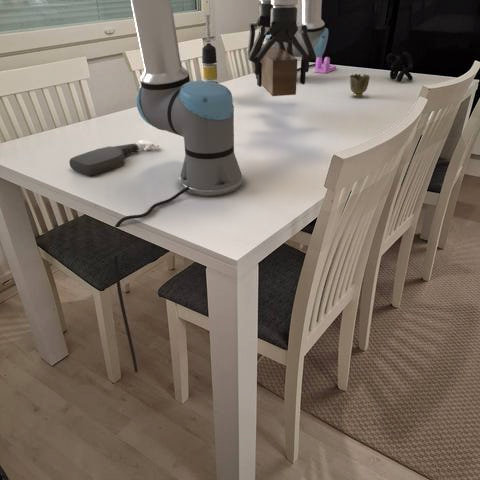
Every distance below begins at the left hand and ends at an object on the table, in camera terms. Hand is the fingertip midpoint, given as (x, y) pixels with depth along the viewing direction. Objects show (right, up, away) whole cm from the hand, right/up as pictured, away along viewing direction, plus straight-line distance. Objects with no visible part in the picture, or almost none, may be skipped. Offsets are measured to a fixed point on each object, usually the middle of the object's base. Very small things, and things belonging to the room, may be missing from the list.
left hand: (280, 84), depth 136 cm
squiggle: (+59, +24, +64) cm, 91 cm away
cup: (+34, +9, +41) cm, 54 cm away
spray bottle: (-47, -25, -11) cm, 54 cm away
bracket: (+30, +37, +85) cm, 97 cm away
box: (-1, +2, +9) cm, 9 cm away
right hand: (-2, +7, +15) cm, 17 cm away
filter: (-24, +9, +43) cm, 50 cm away
